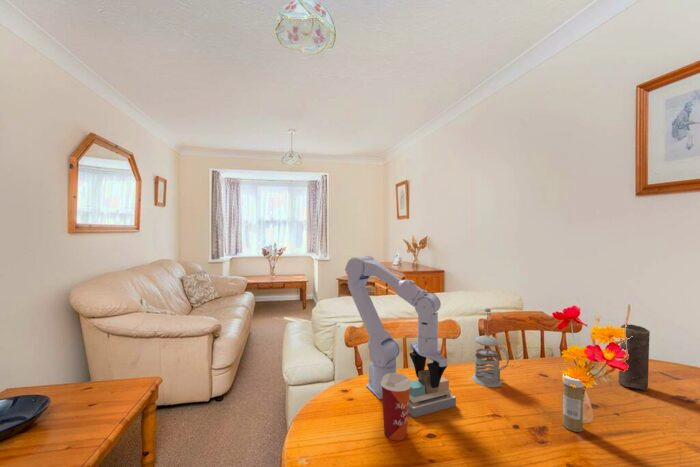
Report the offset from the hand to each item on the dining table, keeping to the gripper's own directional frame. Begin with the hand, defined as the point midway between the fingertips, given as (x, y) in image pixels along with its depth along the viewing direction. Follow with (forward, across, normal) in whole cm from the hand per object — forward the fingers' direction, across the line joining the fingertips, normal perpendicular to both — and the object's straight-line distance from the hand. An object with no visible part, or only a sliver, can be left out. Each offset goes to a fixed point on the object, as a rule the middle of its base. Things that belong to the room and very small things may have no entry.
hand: (427, 381), depth 95 cm
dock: (+7, 0, 0) cm, 7 cm away
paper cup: (+7, -8, +16) cm, 19 cm away
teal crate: (+2, 0, +4) cm, 5 cm away
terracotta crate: (+2, 0, -4) cm, 5 cm away
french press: (+7, +4, -30) cm, 31 cm away
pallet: (+4, 0, 0) cm, 4 cm away
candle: (+7, -18, -70) cm, 73 cm away
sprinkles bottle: (+7, -24, -28) cm, 38 cm away
